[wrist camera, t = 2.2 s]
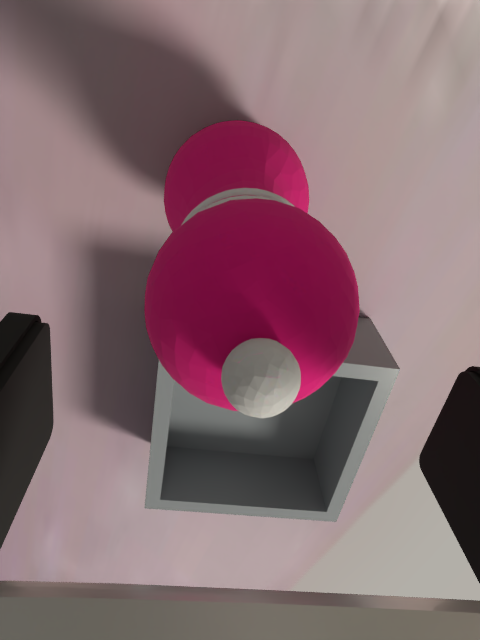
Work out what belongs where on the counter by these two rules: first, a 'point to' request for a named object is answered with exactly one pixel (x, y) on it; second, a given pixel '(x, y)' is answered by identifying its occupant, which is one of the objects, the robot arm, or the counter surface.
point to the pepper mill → (247, 276)
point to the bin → (270, 443)
